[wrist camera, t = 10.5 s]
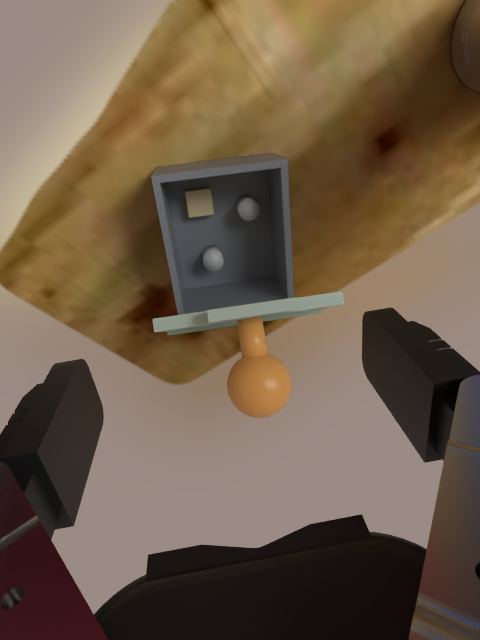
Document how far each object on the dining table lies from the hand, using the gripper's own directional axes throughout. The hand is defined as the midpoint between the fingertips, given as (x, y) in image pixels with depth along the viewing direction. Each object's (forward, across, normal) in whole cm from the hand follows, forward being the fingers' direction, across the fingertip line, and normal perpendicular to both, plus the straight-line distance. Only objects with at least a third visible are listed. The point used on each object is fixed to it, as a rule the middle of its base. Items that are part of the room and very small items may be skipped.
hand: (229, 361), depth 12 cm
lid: (+17, -2, +7) cm, 19 cm away
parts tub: (+31, -2, +4) cm, 31 cm away
